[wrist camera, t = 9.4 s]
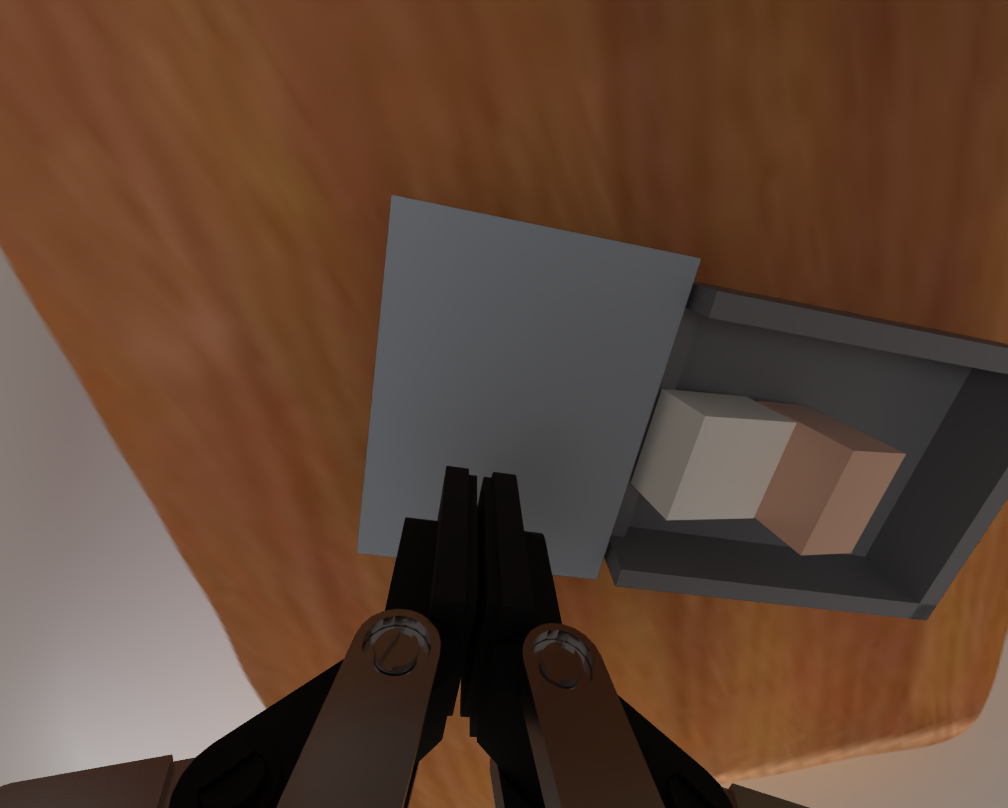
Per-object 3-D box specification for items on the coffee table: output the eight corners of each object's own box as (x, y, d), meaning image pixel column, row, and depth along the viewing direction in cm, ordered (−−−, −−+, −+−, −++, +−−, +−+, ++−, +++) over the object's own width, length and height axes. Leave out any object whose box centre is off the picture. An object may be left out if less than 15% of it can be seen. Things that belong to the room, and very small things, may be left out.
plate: (401, 197, 19) (391, 195, 17) (675, 253, 21) (701, 258, 19) (367, 521, 25) (357, 552, 23) (585, 547, 27) (596, 579, 24)
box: (675, 277, 21) (717, 290, 18) (997, 341, 23) (1095, 365, 20) (595, 533, 26) (615, 586, 22) (867, 567, 28) (926, 620, 25)
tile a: (661, 388, 22) (705, 416, 19) (746, 396, 23) (796, 422, 21) (630, 483, 23) (666, 520, 21) (711, 483, 25) (753, 518, 22)
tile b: (853, 450, 18) (906, 453, 19) (757, 400, 23) (804, 404, 24) (800, 555, 20) (850, 553, 21) (720, 489, 24) (765, 490, 25)
